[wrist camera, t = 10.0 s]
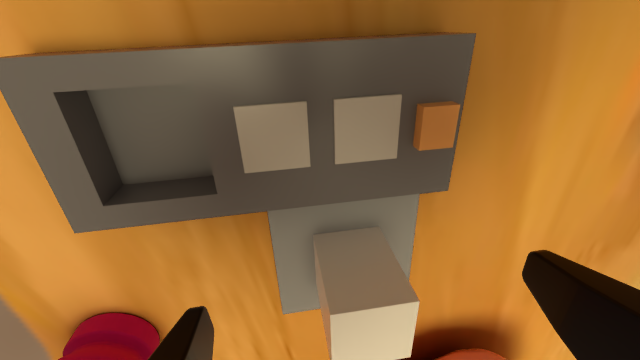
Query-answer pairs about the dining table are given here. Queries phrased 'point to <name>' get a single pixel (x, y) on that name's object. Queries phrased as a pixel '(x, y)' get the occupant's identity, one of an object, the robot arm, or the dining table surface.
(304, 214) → the mat
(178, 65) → the power strip
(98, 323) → the pepper mill
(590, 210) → the dining table surface
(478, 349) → the cell model
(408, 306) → the block
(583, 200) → the dining table surface
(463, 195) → the dining table surface
